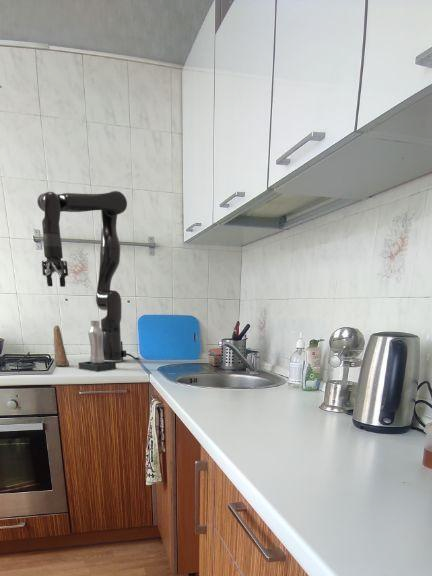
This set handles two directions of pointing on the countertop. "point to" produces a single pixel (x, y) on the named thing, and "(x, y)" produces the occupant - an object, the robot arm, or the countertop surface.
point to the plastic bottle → (96, 344)
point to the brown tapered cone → (59, 348)
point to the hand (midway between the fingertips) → (56, 286)
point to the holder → (97, 366)
